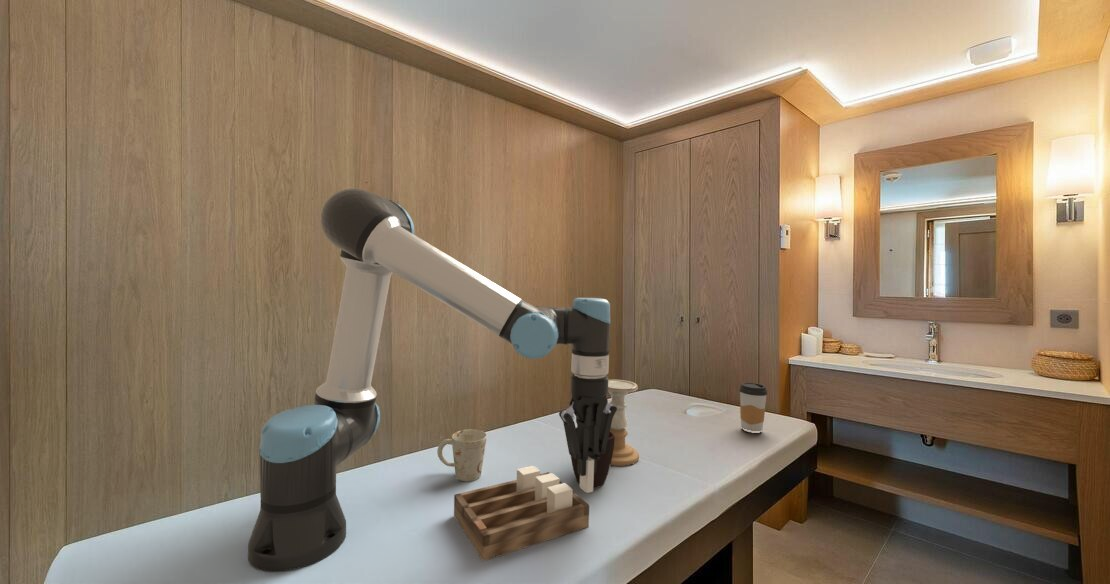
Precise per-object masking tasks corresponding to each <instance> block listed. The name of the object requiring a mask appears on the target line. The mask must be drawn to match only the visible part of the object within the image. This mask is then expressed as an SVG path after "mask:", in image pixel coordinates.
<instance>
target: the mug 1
mask: <svg viewBox="0 0 1110 584" xmlns="http://www.w3.org/2000/svg"><path fill="white" fill-rule="evenodd" d="M486 444H487V433H486V432H485V431H482V430H480V429H474V428H473V429H462V430H459V431H456V432H454V433H453V434H451V437H450V438H447V439H443V440H442V441H441V442H440V443H439V445H438V447H437V457H438V459H439V460H440V462H441V463H442V464H443V465H445V466H447V467H453V468H454V473H455V474H454V475H455V478H456V479H457V480H458V481H462V482H473V481H476V480H478V479H480V478H481V476H482V471H483V470H482V469H483V464H484V458H485V450H486ZM447 445H451V446H452V454H453V455H452V456H453V462H449V461H447V459H445V457H444V454H443V451H444V450H443V449H444V448H445V446H447Z"/></svg>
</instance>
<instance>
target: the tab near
mask: <svg viewBox="0 0 1110 584" xmlns="http://www.w3.org/2000/svg"><path fill="white" fill-rule="evenodd" d="M573 492H574V491H573V488H572V487H571V486H570V485H568V484H567V483H565V482H562V484H558V485H554V486H550V487H547V513H552V512H555V511H558V510H562V509H565V508H569V507H572V496H573Z"/></svg>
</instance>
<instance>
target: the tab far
mask: <svg viewBox="0 0 1110 584" xmlns="http://www.w3.org/2000/svg"><path fill="white" fill-rule="evenodd" d="M540 474H541V470H539V468H538V467H536V466H535V465H530V466H525V467H520V468H517V469H516V480H517V490H516V492H520V491H524V490H528V489H532V488H535V477H537V476H540Z"/></svg>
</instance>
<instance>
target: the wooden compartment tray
mask: <svg viewBox="0 0 1110 584" xmlns="http://www.w3.org/2000/svg"><path fill="white" fill-rule="evenodd" d="M550 473H551V472H549V471H548V472H543V473H540V476H541V475H546V474H550ZM562 483H563V482H562V481H560V480H559V484H562ZM516 490H517V479H514V480H511V481H506V482H501V483H497V484H495V485H494V484H493V485H489V486H485V487H481V488H476V489H472V490H468V491H465V492H460V493H456V494H454V496H453V517H454V519H455V520H456V522H457V523H458V524H459V526H460V527H461V529H462V531H463V533H464V534H465V536H466V538H467V539H468V540H469V541H470V543H471V545H472V546H473V548H474V549H475V551H476V553H477V554H478V556H479V557H480V559H481V560H482V562H484V561H485V562H486V561H488V560H492V559H495V558H498V557H500V556H504V555H507V554H509V553H512V552H515V551H518V550H520V549H521V550H522V549H524V548H527V547H531V546H533V545H537V544H540V543H543V542H546V541H549V540H552V539H554V538H559V537H562V536H565V535H566V534H571V533H574V532H576V531H580V530H582V529H585V528H589V526H590V525H589V523H590V521H589V520H590V504H589V503H588V502H586V500H584V499H583V498H582V497H580V496H579V495H578V494H577V493H576V492H574V491H573V496H572V507H569V508H565V509H562V510H558V511H555V512H552V513H547V498H546V499H543V500H539V501H535V488H532V489H528V490H524V491H520V492H516Z"/></svg>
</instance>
